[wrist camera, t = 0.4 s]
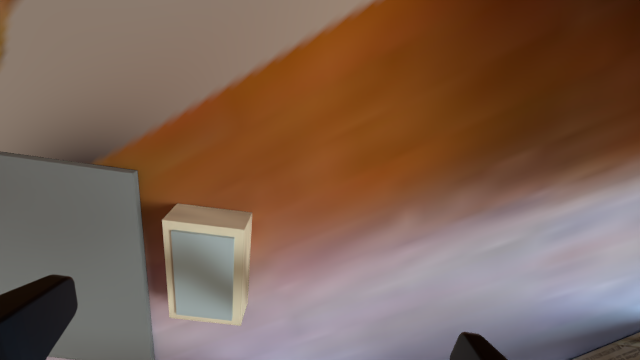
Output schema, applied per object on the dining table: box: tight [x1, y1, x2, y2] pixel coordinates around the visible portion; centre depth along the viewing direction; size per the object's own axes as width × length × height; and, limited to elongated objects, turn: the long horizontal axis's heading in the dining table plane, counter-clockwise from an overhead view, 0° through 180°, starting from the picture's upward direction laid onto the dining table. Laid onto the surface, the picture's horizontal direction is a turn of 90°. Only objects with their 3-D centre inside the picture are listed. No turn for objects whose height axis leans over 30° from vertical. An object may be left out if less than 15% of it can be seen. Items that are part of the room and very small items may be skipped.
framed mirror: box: [162, 204, 252, 326], centre depth 22 cm, size 8×5×3 cm, turn 173°
